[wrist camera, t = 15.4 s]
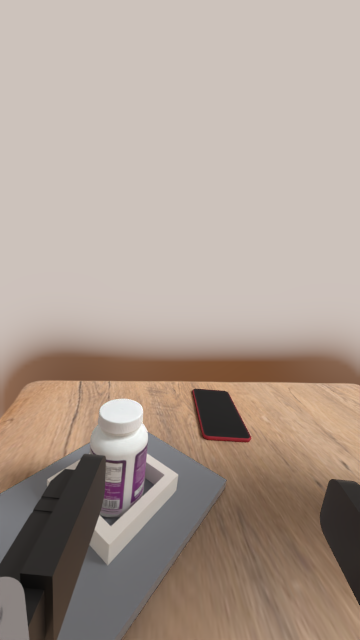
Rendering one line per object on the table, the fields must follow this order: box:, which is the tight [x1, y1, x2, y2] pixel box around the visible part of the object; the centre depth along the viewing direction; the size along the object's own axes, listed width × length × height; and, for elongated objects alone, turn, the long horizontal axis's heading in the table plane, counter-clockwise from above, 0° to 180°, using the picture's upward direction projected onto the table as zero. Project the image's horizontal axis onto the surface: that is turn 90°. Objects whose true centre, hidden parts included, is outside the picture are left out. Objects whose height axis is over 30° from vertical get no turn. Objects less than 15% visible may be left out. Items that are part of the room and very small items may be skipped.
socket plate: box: [0, 432, 227, 640], centre depth 26 cm, size 19×16×3 cm
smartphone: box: [193, 389, 251, 442], centre depth 45 cm, size 7×1×15 cm
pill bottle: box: [90, 399, 148, 518], centre depth 25 cm, size 5×5×10 cm
